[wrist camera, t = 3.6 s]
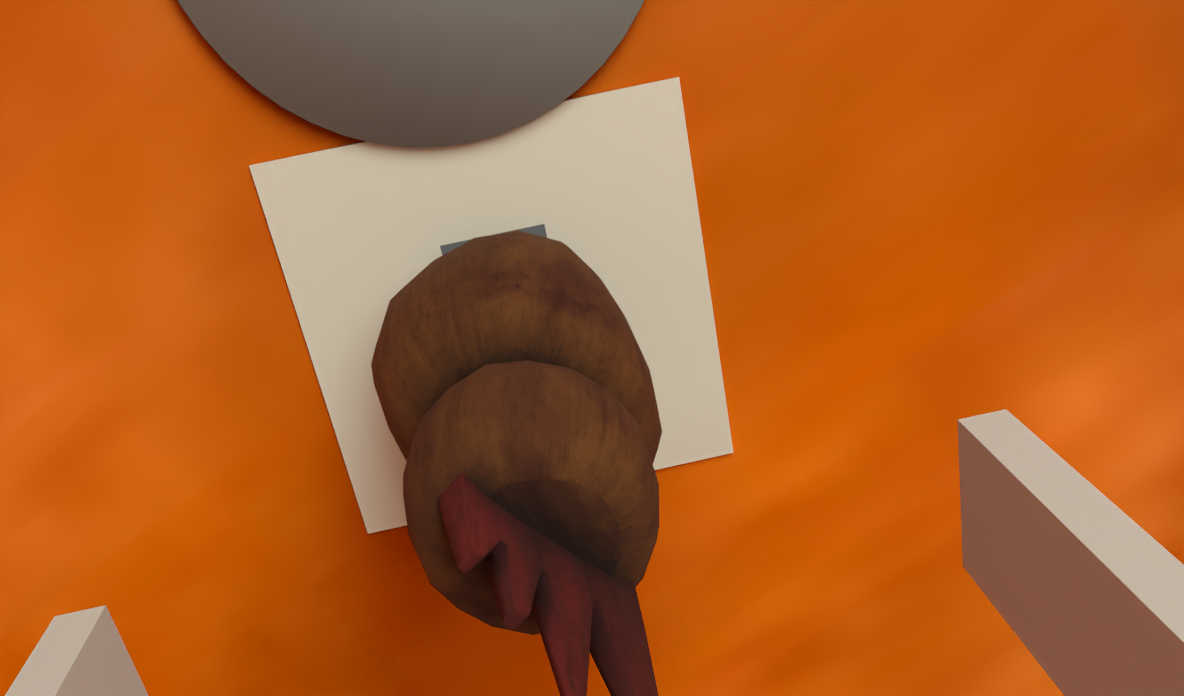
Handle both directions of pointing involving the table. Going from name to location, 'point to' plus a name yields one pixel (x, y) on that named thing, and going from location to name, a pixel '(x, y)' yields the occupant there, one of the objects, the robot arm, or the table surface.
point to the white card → (493, 206)
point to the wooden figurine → (527, 449)
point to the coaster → (415, 60)
